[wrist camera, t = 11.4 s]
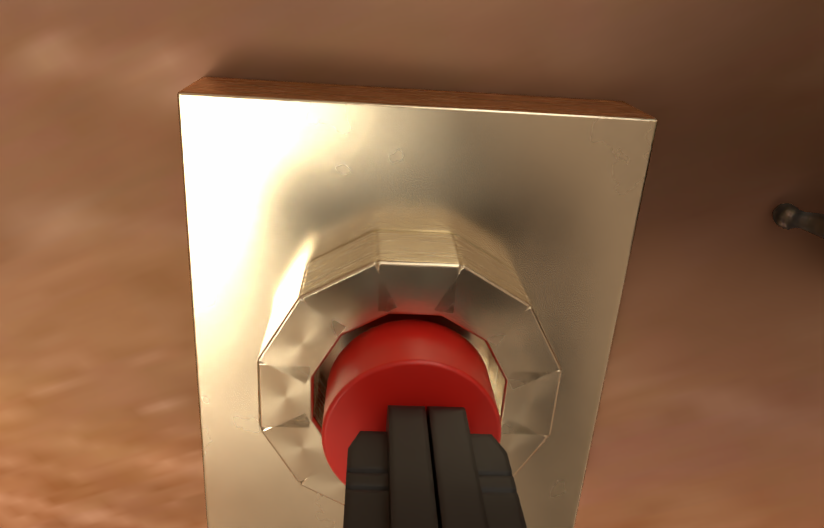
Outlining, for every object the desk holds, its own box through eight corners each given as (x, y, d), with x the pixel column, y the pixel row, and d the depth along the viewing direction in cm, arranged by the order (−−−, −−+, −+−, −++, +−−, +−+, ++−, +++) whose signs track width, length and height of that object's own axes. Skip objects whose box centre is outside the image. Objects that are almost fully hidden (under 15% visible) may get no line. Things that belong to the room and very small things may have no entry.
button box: (552, 492, 21) (589, 602, 17) (224, 486, 20) (191, 599, 17) (624, 100, 16) (695, 138, 13) (201, 76, 16) (148, 108, 12)
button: (480, 456, 16) (491, 511, 14) (325, 453, 16) (319, 508, 14) (497, 320, 15) (512, 363, 13) (328, 314, 14) (322, 358, 13)
